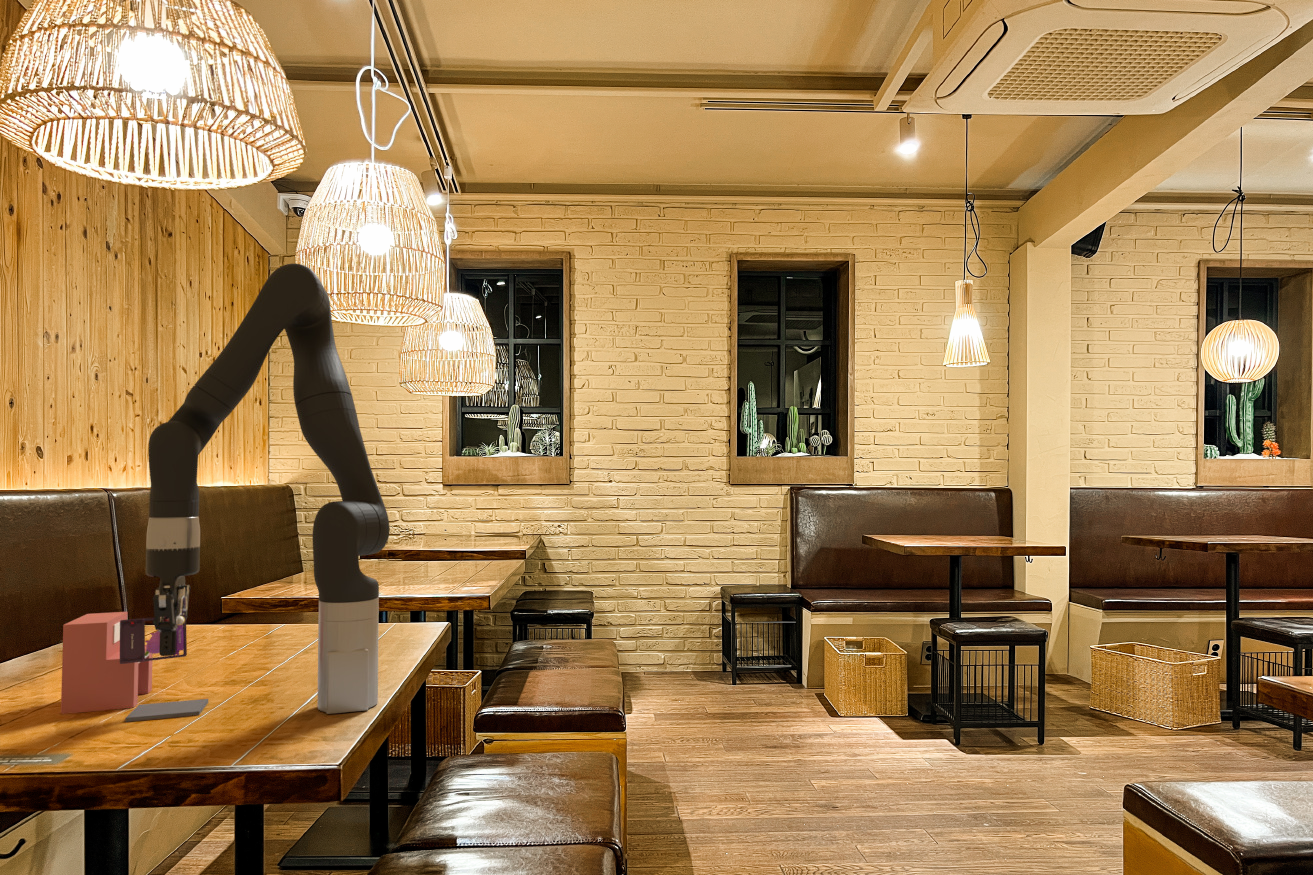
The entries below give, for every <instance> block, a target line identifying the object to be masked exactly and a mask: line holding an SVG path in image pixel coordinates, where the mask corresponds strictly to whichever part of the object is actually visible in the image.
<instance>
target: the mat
mask: <svg viewBox="0 0 1313 875" xmlns="http://www.w3.org/2000/svg"><path fill="white" fill-rule="evenodd" d="M208 703H209V698H203V699H191V700H179V701H177V700H176V701H167V702H166V701H165V702H155V703H143V704H142V703H141V704H137V705H136V706H135V707H134V709H133V710H131V711H130V713H129V714H128V715H126V717H125V719H124V720H125V722H124V723H127V722H129V723H130V722H139V721H148V720H160V719H161V720H162V719H170V718H171V719H173V718H182V717H193V716H194V715H195V716H200V714H201V713H202V712H203V710H204V709H205V708H206V706H207V705H208ZM192 715H193V716H192Z"/></svg>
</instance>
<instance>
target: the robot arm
mask: <svg viewBox="0 0 1313 875" xmlns="http://www.w3.org/2000/svg"><path fill="white" fill-rule="evenodd" d="M283 331H285V333H286V337H287V339H288V343H289V346H290V349H291V352H292V353H291V354H292V358H293V380H292V382H293V384H292V386H293V388H292V390H293V399H294V406H295V410H296V415H297V419H298V423H299V427H300V430H301V434H302V435H303V437H304V439H305V441H306V442H307V444H308V445H309V447H310V449H312V451H313V452H314V453H315V455H316V456H317V457H318V458H319V459H320V460H321V462H322V463H323V464H324V465H325V466H326V468H327V469H328V470H329V472H330V473H331V475H332V476H333V478H334V481H335V482H336V485H337V487H338V491H339V493H340V497H341V500H340V501H339V500H338V501H330V502H327V503H325V504H323V505H322V506H321V507H320V508H319V509H318V511H317V512H316V515H315V517H314V520H313V525H312V555H313V556H312V557H313V558H312V559H313V562H312V563H313V576H314V577H313V578H314V583H315V586H316V588H317V591H318V621H317V622H318V623H317V624H318V631H317V634H318V636H317V710H319V711H321V712H324V713H326V714H327V715H328V714H329V715H331V714H332V715H333V714H340V713H342V714H343V713H349V712H350V713H351V712H361V711H368V710H369V709H370V708H372V707H374V706H376V705H378V703H379V702H378V700H379V613H380V612H379V611H380V610H379V609H380V607H379V606H380V605H379V604H380V602H379V600H380V598H379V596H380V591H379V590H380V588H379V587H380V586H379V581H377V579H376V578H373V577H371V576H367V575H366V574H364V573H363V572H362V571H361V568H360V561H359V560H360V559H359V557H361V556H368V555H374V554H377V553H379V552H381V551H382V550H383V549H384V548H385V547H386V545H387V543H388V541H389V538H390V529H391V528H390V527H391V526H390V520H389V519H390V518H389V516H388V512H387V511H388V510H387V509H386V506H385V503H384V500H383V498H382V495H381V492H380V489H379V487H378V485H377V481H376V479H375V476H374V473H373V471H372V467H371V464H370V461H369V457H368V454H367V450H366V446H365V443H364V442H365V441H364V439H363V435H362V432H361V428H360V423H359V419H358V413H357V410H356V405H355V402H354V398H353V394H352V391H351V386H350V384H349V381H348V380H349V379H348V377H347V374H346V371H345V369H344V367H343V364H342V361H341V359H340V356H339V353H338V349H337V347H336V342H335V334H334V327H333V320H332V310H331V302H330V298H329V294H328V292H327V290H326V288H325V287H324V285H323V283H322V281H321V280H320V278H319V276H317V274H316V273H315V271H314V270H312V268H310V267H309V266H306V265H304V264H300V263H287V264H284V265H281V266H279V267H277V268H276V269H274V270H273V272H272V273H270V275H269V276H268V278H267V279H266V281H265V283H264V284H263V286H262V287H261V289H260V290H259V292H258V294H257V296H256V298H255V300H254V301H253V303H252V305H251V307H250V308H249V309H248V311H247V313H246V314H245V316H244V318H243V319H242V321H241V323H240V324H239V326H238V328H237V329H236V330H235V332H234V333H233V335H232V337H231V338H230V339H229V341H228V342H227V343H226V345H224V347H223V349H222V350H221V352H220V353H219V354H218V356H217V357H216V359H215V360H214V361H213V362H212V363H211V364H210V366H209V367H208V368H207V369H206V370H205V371H204V373H202V375H201V376H200V377H199V379H198V380H197V381H196V382H195V383H194V385H193V386H192V387H191V388H190V390H189V391H188V393H187V395H186V396H185V399H184V402H183V403H182V405H181V406H180V407H179V408H178V409H177V410H176V412H174V413H173V415H172V416H171V417H170V419H168V420H167V421H166V422H162V423H161V424H159V425H158V426H156V427H155V428H154V429H153V431H152V432H151V434H150V436H149V439H148V468H149V479H150V480H149V481H150V492H149V499H148V501H149V506H148V509H149V510H148V523H147V529H146V545H145V547H146V548H145V575H147V577H150V578H151V577H152V578H155V577H157V578H159V579H160V580H159V586H158V587H156V589H155V594H154V595H153V597H152V602H153V616H154V617H155V626H154V629H155V631H158V632H160V649H159V653H158V654H159V655H160V657H165V656H173V655H174V654H175V653H176V650H177V629H178V626H177V624H178V617H179V616H181V615H184V614H185V615H186V620H187V618H188V608H189V602H190V601H189V600H190V599H189V598H190V590H191V585H190V584H186V576H191V575H195V574H198V573H199V572H200V568H201V567H200V562H201V560H200V556H201V553H200V552H201V525H200V517H199V516H200V489H199V486H198V467H199V466H198V465H199V455H200V453H201V452H202V451H203V450H204V449H205V447H206V446H207V444H208V443H209V442H210V440H211V439H212V438H213V436H214V434H215V433H216V432H217V430H218V429H219V427H220V426H221V424H222V423H223V422H224V421H225V420H226V419H227V418H228V416H230V415H231V413H232V412H233V411H234V410H235V409H236V407H237V406H238V405H239V404H240V402H241V401H242V400H243V398H245V396H246V395H247V394H248V393H249V392H250V389H251V388H252V387H253V385H254V383H255V382H256V380H257V378H258V376H259V374H260V371H261V369H262V367H263V365H264V362H265V360H266V358H267V356H268V354H269V352H270V349H271V348H272V347H273V344H274V343H275V341H276V340H277V339H278V337H279V336H280V335H281V333H282V332H283ZM165 617H169V621H168V622H164V618H165Z"/></svg>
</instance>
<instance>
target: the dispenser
mask: <svg viewBox="0 0 1313 875" xmlns="http://www.w3.org/2000/svg"><path fill="white" fill-rule="evenodd" d="M128 613H129V612H128V611H119V612H118V611H114V612H99V613H97V612H96V613H86V614H84V615H82V616H79V617H78V618H75V619H73V620H71V621H69V622H66V623H64V624H63V625H62V626H63V630H62V657H61V658H62V659H61V660H62V661H61V694H60V696H61V697H60V699H61V700H60V715H64V714H66V715H67V714H75V713H87V712H98V711H108V710H109V711H111V710H121V709H133V708H134V709H135V708H136V707H137V706H138V705H139V704H138V702H139V701H138V700H139V699H138V698H139V696H138V695H145V694H147V695H148V694H150V692H152V691H153V690H152V689H153V660H152V661H143V662H135V663H126V664H120V621H121V620H128ZM146 645H147V644H145V652H146V650H147V649H146ZM153 656H154V655H153V653H149V655H148V656H145V659H148V658H154V657H153Z"/></svg>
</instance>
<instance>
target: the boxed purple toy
mask: <svg viewBox="0 0 1313 875" xmlns="http://www.w3.org/2000/svg"><path fill="white" fill-rule="evenodd" d="M148 621H152V624H153V625H154V627H155V617H142V618H131V619H128V618H127V620H121V621H120V664H126V663H135V662H143V661H152V662H153V661H160V660H167V659H175V658H185V657H187V655H188V651H187V650H188V649H187V644H188V643H187V640H188V638H187V619H186V615H185V614H184V615H181V616H179V617H178V624H177V626H178V629H177V650H176V653H175V654H174V655H172V656H158V657H153V658H148V659H145V656H148V655H149V653H153V654H155V655H156V654H159V649H160V632H158V630H155V632H150V635H151V636H150V638H149V639H148V640H146V636H145V634H146V633H145V632H146V622H148ZM168 621H169V617H165V618H164V622H168ZM145 645H146V649H147V650H146V652H145ZM180 651H182V652H183V653H182V654H180Z"/></svg>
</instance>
